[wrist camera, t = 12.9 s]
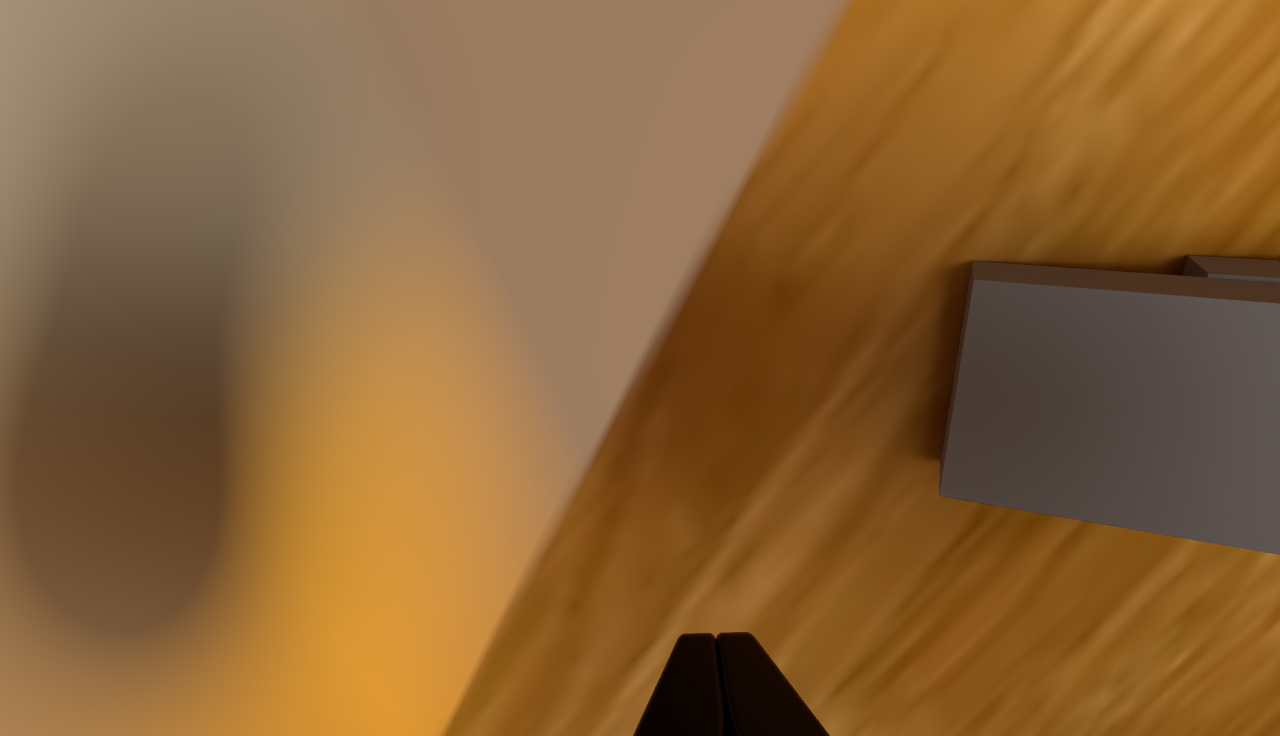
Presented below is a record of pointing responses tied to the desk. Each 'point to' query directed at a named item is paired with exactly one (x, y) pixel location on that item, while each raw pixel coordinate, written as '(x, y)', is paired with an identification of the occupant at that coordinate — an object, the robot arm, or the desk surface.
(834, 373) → the desk surface
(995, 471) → the domino
